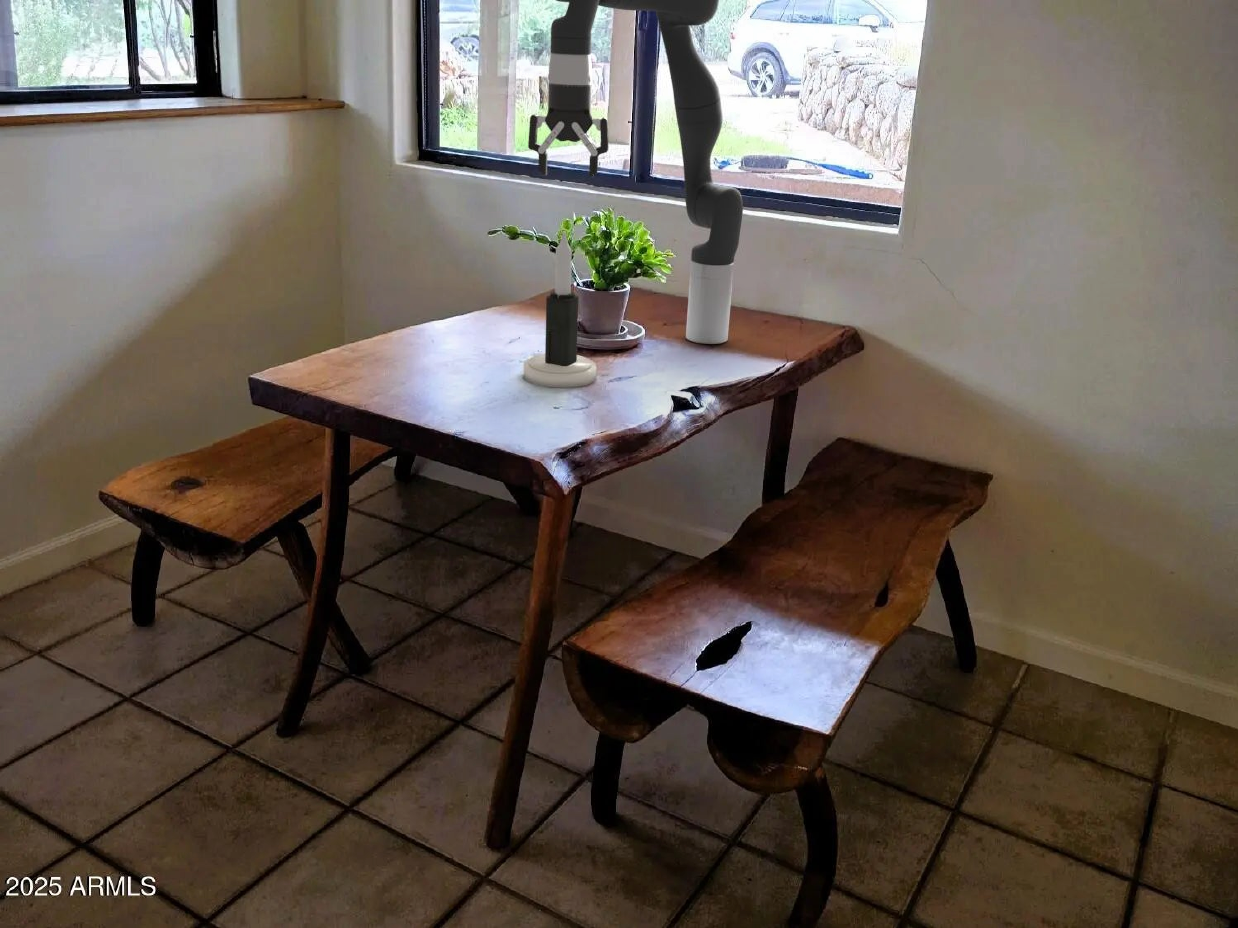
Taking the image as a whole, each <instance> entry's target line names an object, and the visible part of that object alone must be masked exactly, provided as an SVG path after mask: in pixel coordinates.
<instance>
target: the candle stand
mask: <svg viewBox="0 0 1238 928" xmlns="http://www.w3.org/2000/svg"><path fill="white" fill-rule="evenodd" d="M523 379H524V380H525V381H527V382H529V383H531V384H533V385H535V386H536V385H537V386H540V387H546V388H556V389H570V388H580V387H585V386H587V385H590V384H593V383H594V382H595V381H596V379H597V364H596V362H594V361H593V360H591V359H589V358H587V357H585V356H582V355H579V354H577V361H576V362H575V363H573V364H571V365H569V366H560V365H555V364H548V363H545V353H541V354H537V355H534V356H532V357H530V358H528V359H526V360H524V361H523Z"/></svg>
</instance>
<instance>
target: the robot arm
mask: <svg viewBox="0 0 1238 928" xmlns="http://www.w3.org/2000/svg"><path fill="white" fill-rule="evenodd" d="M555 1H557V2H559V3H560V2H561V3H568V6H567V9H566V12H565V14H564V15H563V16H560V17H557V18H555V19H554V20H552V22H551V27H550V54H549V55H550V57H549V64H548V74H547V80H548V92H547V93H548V95H547V96H548V98H547V99H548V100H547V101H548V103H547V104H548V105H547V113H546V115H540V114H539V115H538V114H537V113H533V114H532V115H531V116H530V117H529V129H528V142H527V144H528V145H527V147H528V150H532V151H534V152H536V153H537V154H538V169H537V170H538V171H539V173H541V176H547V175H548V153H547V150H548V149H549V148H550V146H551V145H552V144H553V143H554V141H555V140H557V141H559V142H568V141H569V142H572V143H577V142H580V141H581V142H582V143H583V145H584V146H585V147H586V149H587V150H588V152H589V153H590V156H589V167H588V168H589V171H588V177H589V178H594V175H597V173H598V171H599V156H600V155H602V154H606V153H608V151H609V147H610V146H609V119H608V117H606V116H604V117H600V118H599V117H595V118H593V117H592V113H591V105H592V104H591V103H592V100H591V99H592V77H593V76H592V73H593V72H592V71H593V70H592V60H591V59H592V58H591V57H592V56H591V54H592V53H591V52H592V51H591V50H592V29H593V25H594V23H595V19H596V14H597V11H598V7H599V6H600V7H603V8H610V9H615V10H624V11H642V12H643V11H644V12H646V11H648V12H655V14H656V17H657V22H658V25H659V30H660V34H661V38H662V42H663V45H664V49H665V54H666V59H667V63H668V68H669V74H670V75H669V76H670V80H671V88H672V93H673V101H674V110H675V116H676V121H677V126H678V127H677V128H678V132H679V139H680V140H679V141H680V147H681V155H682V162H683V178H684V195H685V196H684V197H685V208H686V213H687V216H688V218H689V220H690V222H691V223H692V224H693V225H695V226H697V227H700V228H705V229H710V231H709V237H708V240H707V241H706V242H704V243H699V244H696V245H694V246H693V247H692V249H691V255H690V270H689V283H688V285H689V287H688V299H687V300H688V302H687V316H686V331H685V339H686V340H688V341H691V342H693V343H697V344H706V345H707V344H708V345H710V344H711V345H715V344H718V345H719V344H723V343H725V342H727V341H728V337H729V328H730V314H731V304H732V303H731V301H732V292H733V291H732V290H733V280H734V278H733V276H734V264H735V263H734V262H735V256H736V254H737V250H738V247H739V244H740V237H741V230H742V229H741V228H742V222H743V221H742V220H743V212H744V204H743V203H744V202H743V198H742V194H741V192H740V190H738V189H737V188H735V187H733V186H727V185H721V184H716V183H714V181H713V177H712V168H711V159H712V158H711V156H712V152H713V150H714V148H715V146H716V144H717V143H716V142H717V140H718V138H719V136H720V134H721V130H722V126H723V109H722V102H721V100H722V99H721V94H720V90H719V86H718V84H717V81H716V79H715V77H714V76H713V74H712V73H711V71H710V70H709V68H708V67H707V65H706V63H705V62H704V60H703V58H701V56H700V54H699V53H698V50H697V48H696V46H695V44H694V39H693V35H692V31H691V26H701V25H705V24H707V23H709V22H710V21H711V20H712V19H713V18H714V17H715V15H716V13H717V10H718V7H719V4H720V3H719V0H555ZM543 123H545V124H546V126H547V127H548V130H549V131H550V132H549V134H548V135H547V137H546V138H545V139H544V141H543V142H542V143H541V144H540V143H538V141H537V140H538V131H539V130H538V129H540V128H542V126H543ZM593 125H594V126H595V128H596V130H597V131H598V132H599V131H600V146H596V144H595V143H594V142H593V140H592V138H591V136H590V135H589V134H588V132H589V130H590V129H591V128H592V126H593Z"/></svg>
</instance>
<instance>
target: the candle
mask: <svg viewBox="0 0 1238 928" xmlns="http://www.w3.org/2000/svg"><path fill="white" fill-rule="evenodd" d="M572 252H573V250H572V247H570V245H569V241H568V238H567V231H565V230H563V231H562V232H561V237H560V240H559V244H558V245H557V247H556V249H555V265H554V266H555V269H554V270H555V273H554V274H555V276H554V278H555V279H554V290H551V291H550V294H549V295H547V296H546V302H545V303H546V305H545V306H546V307H545V346H544V348H545V350H544V351H545V353H544V354H545V363H548V364H555V365H560V366H569V365H571V364H573V363H575V362H576V361H577V355H578V333H579V332H578V331H579V330H578V328H579V327H578V326H579V325H578V324H579V323H578V322H579V300H580V299H579V298H580V297H579V296H578V295H577V294H576V293H575V292H574V291H572V290H571V286H572V284H571V282H572V255H573V254H572Z"/></svg>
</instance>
